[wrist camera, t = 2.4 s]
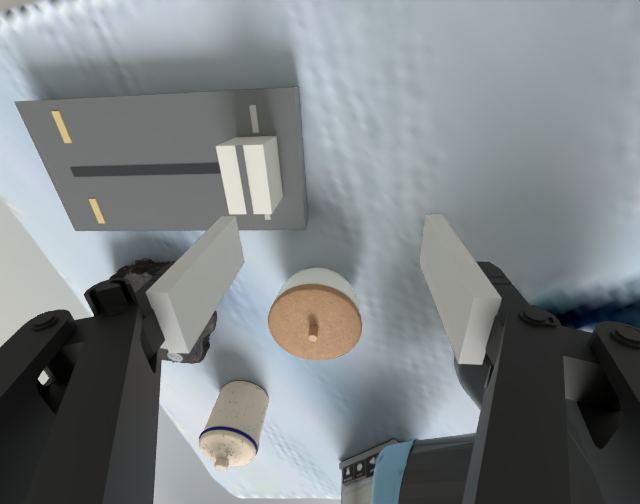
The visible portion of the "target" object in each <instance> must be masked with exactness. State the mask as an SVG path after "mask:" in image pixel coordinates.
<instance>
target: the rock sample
mask: <svg viewBox="0 0 640 504" xmlns="http://www.w3.org/2000/svg"><path fill="white" fill-rule="evenodd" d="M135 262H136V264H135V265H131V266H124V267H122V268H120V269H119V271H118V272H117V273H116V274H115V275H113V276H111V277H110V279H115V278H126V279H128V280H130V282H131V285H132V287H133V290H134V292H135V293H136V292H137V291H138V290H139V289H140V288H141V287H142V286H143V285H144V284H145V283H146V282H147V281H149V279H150V278H151V277H153V276H155V274H156V273H157V272H158V271H159V270H160V269H161V268H162V267H163V266H165V265H167V264H169V263H171V262H169V261H168V262H160V263H154V261H152V260H151V259H148V258H145V259H143V260H136V261H135ZM216 321H217V312H216V310H215V312H214V313H213V315H212V316H211V318H210V320H209V321H208V323H207V325H206V326H205V328H204V330H203V331H202V333H201V335H200V336H199V338H198V339H197V341H196V343H195V344H194V346H193V348H192V349H191V351H190V353H189V354H188V353H169V351H168V348H167V346H166V343H165V341H164V343H163V344H162V345H161V347H160V348H159V349H158V350H159V352H160V355H161V358H162V359H161V360H167V361H172V362H173V363H174V362H180V363H191V364H193V363H200V362H201V361H202V360H203V359H204V358H205V355H206V353H207V351H208V349H209V347H210V344H209V336H210V334H209V333H211V332H212V331H214V329H215V326H216Z"/></svg>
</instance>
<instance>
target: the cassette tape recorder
mask: <svg viewBox="0 0 640 504" xmlns="http://www.w3.org/2000/svg"><path fill="white" fill-rule="evenodd" d="M397 443H399V442H398V441H396V440H395V439H394V440H391V441H389V442H387V443H385V444H382V445H380V446H378V447H375V448H373V449H371V450H368V451H366V452H364V453H361V454H359V455H357V456H354V457H352V458H350V459H347V460H345V461H342V462H340V464H339V469H340V470H342V490H341V504H372V484H373V475H374V469H375V465H376V461H377V458H378V455H379V454H380V452H381V451H382V450H383V449H384V448H385V447H386V446H388V445H392V444H397Z"/></svg>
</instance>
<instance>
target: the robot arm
mask: <svg viewBox="0 0 640 504" xmlns="http://www.w3.org/2000/svg"><path fill="white" fill-rule="evenodd" d="M243 264H244V257H243V252H242V246H241V241H240V236H239V231H238V226H237V220H236V216H221V217H220V218H219V219H218V220H217V221H216V222H215V223H214V224H213V225H212V226H211V227H210V228H209V229H208V230H207V231H206V232H205V233H204V234H203V235H202V236H201V237H200V238H199V239H198V240H197V241H196V242H195V243H194V244H193V245H192V246H191V247H190V248H189V249H188V250H187V251H186V252H185V253H184V254H183V255H182V256H181V257H180V258H179V259H178V260H177V261H172V262H171V263H169V264H167V265H165V266H163V267H162V268H161V269H160V270H159V271H158V272H157V273H156V274H155V276H153V277H151V278H150V279H149V281H147V282H146V283H145V284H144V285H143V286H142V287H141V288H140V289H139V290H138V291H137V292H136V293H135V292H134V290H133V287H132V285H131V282H130V280H128V279H126V278H115V279H109V280H106V281H103V282H100V283H98V284H96V285H94V286H92V287H91V288H90V289H88V290H87V291H86V292H85V294H84V296H85V298H86V300H87V302H88V304H89V306H90V308H91V310H92V312H93V314H94V317H90V318H84V319H79V320H74V319H73V317H72V315H71V314H70V312H69V311H67V310H54V311H48V312H45V313H44V314H43V313H42V314H40V315H38V316H37V317H35V318H33V319H31V320H30V321H28V322H27V323H26V324H24V325H23V326H22V327H21V328H20V329H19V330H18V331H17V332H16V333H15V334H14V335H13V336H12V337H11V338H10V339H9V340H8V341H6V342H5V343H4V345H2V346H1V347H0V504H153V497H154V480H155V462H156V461H155V460H156V445H157V428H158V411H159V394H160V377H161V359H162V358H161V355H160V352H159V350H158V349H159V348H160V347H161V345H162V344H163V343H164V341H165V343H166V346H167V348H168V351H169V353H188V354H189V353H190V351H191V349H192V348H193V346H194V344H195V343H196V341H197V339H198V338H199V336H200V335H201V333H202V331H203V330H204V328H205V326H206V325H207V323H208V321H209V320H210V318H211V316H212V315H213V313H214V312H215V310H216V308H217V307H218V305H219V303H220V302H221V300H222V298H223V297H224V295H225V293H226V292H227V290H228V288H229V287H230V285H231V284H232V282H233V280H234V279H235V277H236V275H237V274H238V272H239V270H240V269H241V267H242V265H243ZM419 264H420V266H421V269H422V271H423V274H424V276H425V279H426V282H427V284H428V287H429V289H430V292H431V295H432V297H433V300H434V302H435V305H436V308H437V310H438V313H439V315H440V318H441V321H442V323H443V326H444V328H445V331H446V334H447V336H448V339H449V341H450V344H451V347H452V349H453V352H454V354H455V362H454V365H455V370H456V373H457V376H458V379H459V381H460V384H461V386H462V387H463V389H464V390H465V392H466V393H467V394H468V395H469V396H470V398H471V399H472V400H473V401H474V403H475V404H476V405H477V406H478V408H479V409H480V410H481V412H480V417H479V422H478V427H477V432H476V433H472V434H464V435H457V436H450V437H442V438H433V439H424V440H418V439H417V438H415V439H411V440H410V441H408V442H403V443H397V444H392V445H388V446H386V447H385V448H384V449H383V450H382V451H381V452H380V454H379V455H378V458H377V461H376V465H375V469H374V475H373V484H372V504H640V329H638V328H636V327H633V326H631V325H628V324H623V323H619V322H610V321H605V322H601V323H598V324H597V326H596V327H595V329H594V331H593V333H591V332H586V331H581V330H577V329H572V328H567V327H564V326H561V324H560V321H559V320H558V319H557V318H556V317H555V316H554V315H553V314H551V313H549V312H548V311H546V310H544V309H541V308H538V307H536V306H531V305H529V304H528V303H527V301H526V300H525V299H524V298H523V297H522V295H521V294H520V293H519V292H518V290H517V289H516V288H515V287H514V285H512V283H511V282H510V281H509V279H508V278H506V276H505V274H504V273H503V272H502V271H501V270H500V269H499V268H498V267H496V266H495V265H493V264H491V263H490V262H476V261H475V260H474V258H473V257H472V256H471V254H470V253H469V251H468V250H467V249H466V247H465V246H464V244H463V243H462V241H461V240H460V239H459V237H458V236H457V234H456V233H455V232H454V230H453V229H452V227H451V226H450V225H449V223H448V222H447V220H446V219H445V218H444V216H443V215H442V214H426V215H425V223H424V230H423V238H422V246H421V254H420V262H419ZM43 370H44V371H45V372H46V374H47V375H48V377H49V379H48V381H47V382H46V383H45V384H44V385H42V384H41V383H40V382H39V380H38V377H39V376H40V374H41V372H42V371H43Z"/></svg>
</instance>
